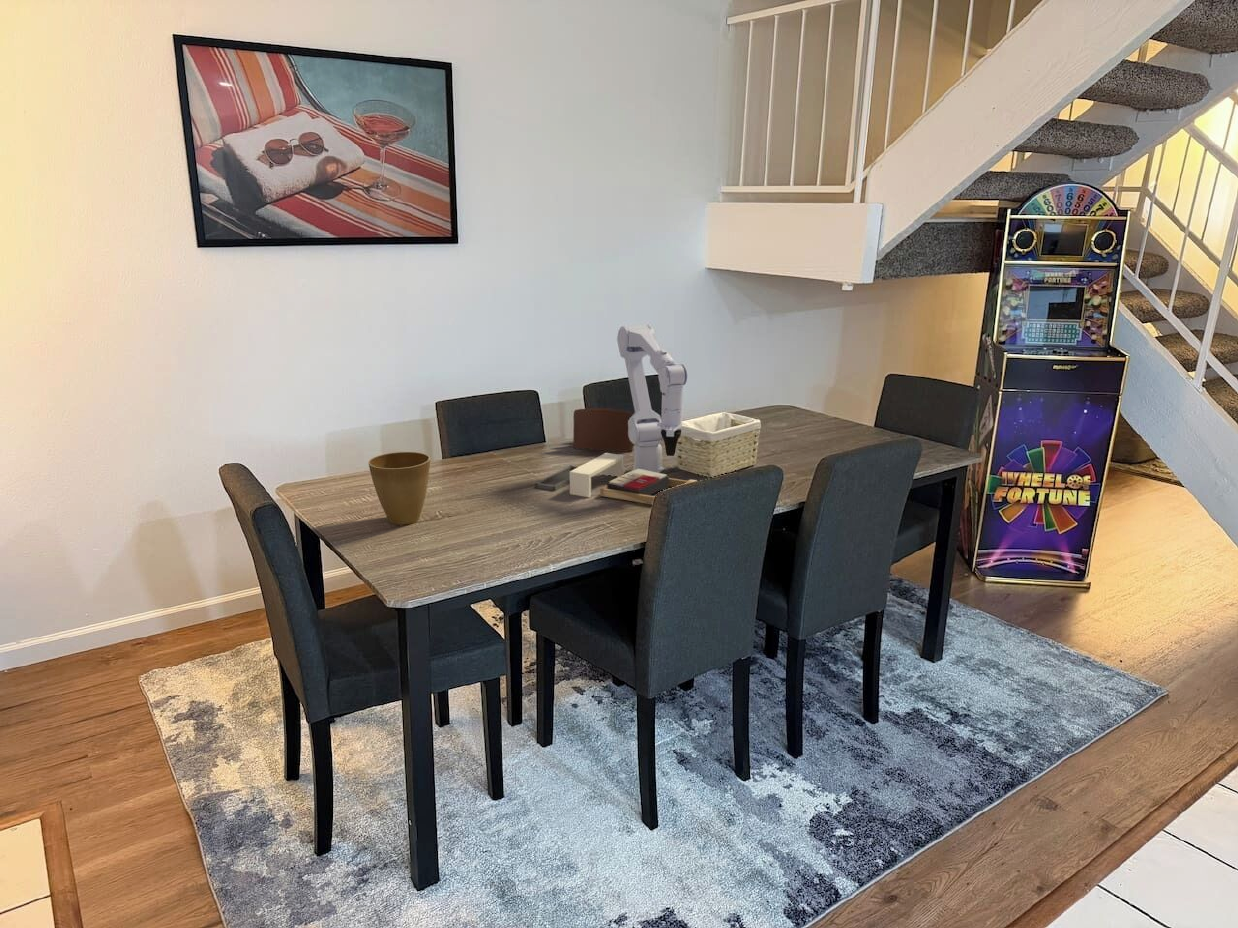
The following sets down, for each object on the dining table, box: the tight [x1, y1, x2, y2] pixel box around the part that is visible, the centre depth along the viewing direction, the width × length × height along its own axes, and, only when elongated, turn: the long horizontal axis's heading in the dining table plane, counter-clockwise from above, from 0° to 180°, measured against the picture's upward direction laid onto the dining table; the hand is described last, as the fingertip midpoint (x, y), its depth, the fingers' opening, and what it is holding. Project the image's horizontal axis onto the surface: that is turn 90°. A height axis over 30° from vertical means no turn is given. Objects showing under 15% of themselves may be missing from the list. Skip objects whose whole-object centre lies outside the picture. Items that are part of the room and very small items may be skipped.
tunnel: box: [534, 452, 625, 498], centre depth 253 cm, size 22×18×6 cm
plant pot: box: [368, 451, 431, 526], centre depth 219 cm, size 15×15×16 cm
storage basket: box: [675, 411, 762, 478], centre depth 268 cm, size 24×16×15 cm
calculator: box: [606, 469, 670, 496], centre depth 245 cm, size 11×4×15 cm
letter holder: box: [573, 407, 634, 453], centre depth 290 cm, size 10×20×14 cm, turn 80°
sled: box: [599, 477, 698, 505], centre depth 244 cm, size 18×21×2 cm
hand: (670, 455), depth 248 cm, fingers closed
